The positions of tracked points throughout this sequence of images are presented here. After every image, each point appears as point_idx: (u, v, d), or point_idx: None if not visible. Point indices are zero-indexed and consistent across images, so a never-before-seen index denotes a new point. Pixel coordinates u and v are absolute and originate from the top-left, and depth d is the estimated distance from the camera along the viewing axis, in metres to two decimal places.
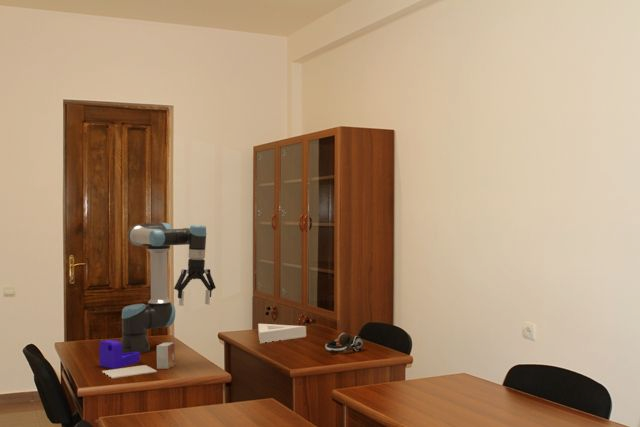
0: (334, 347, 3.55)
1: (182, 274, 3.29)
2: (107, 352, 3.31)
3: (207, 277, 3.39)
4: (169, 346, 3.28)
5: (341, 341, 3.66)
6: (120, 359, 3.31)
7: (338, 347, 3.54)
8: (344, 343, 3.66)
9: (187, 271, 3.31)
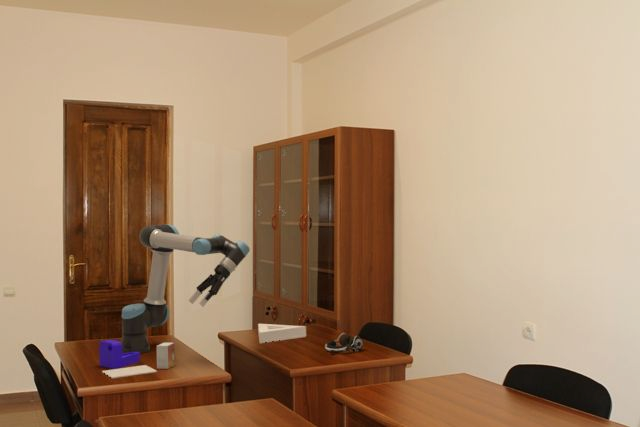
0: (334, 347, 3.55)
1: (221, 282, 3.38)
2: (107, 352, 3.31)
3: (206, 281, 3.48)
4: (169, 346, 3.28)
5: (341, 341, 3.66)
6: (120, 359, 3.31)
7: (338, 347, 3.54)
8: (344, 343, 3.65)
9: None
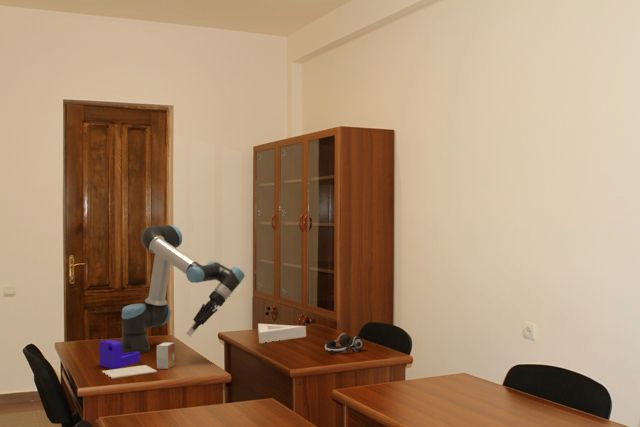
0: (333, 348, 3.54)
1: (212, 312, 3.37)
2: (107, 352, 3.31)
3: (201, 310, 3.44)
4: (169, 346, 3.28)
5: (341, 341, 3.65)
6: (120, 359, 3.31)
7: (337, 347, 3.54)
8: (344, 343, 3.65)
9: None
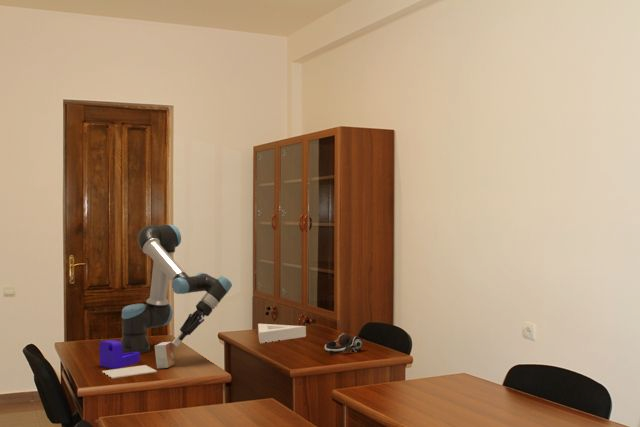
0: (333, 348, 3.54)
1: (199, 322, 3.33)
2: (107, 352, 3.31)
3: (188, 320, 3.40)
4: (167, 345, 3.28)
5: (341, 342, 3.65)
6: (120, 359, 3.31)
7: (337, 348, 3.53)
8: (344, 344, 3.64)
9: None
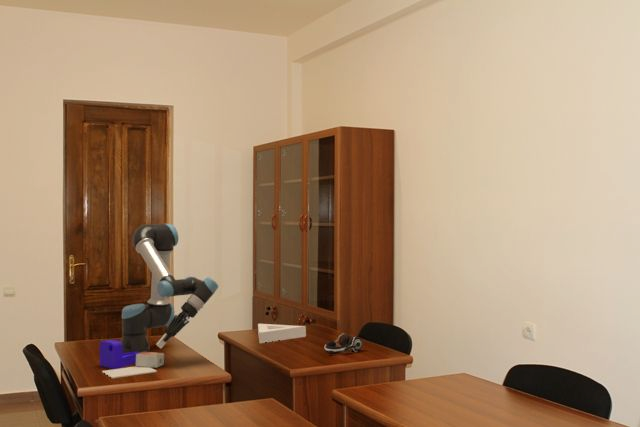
0: (332, 348, 3.54)
1: (183, 324, 3.30)
2: (107, 352, 3.31)
3: (173, 321, 3.37)
4: (138, 353, 3.31)
5: (340, 342, 3.64)
6: (120, 359, 3.31)
7: (337, 348, 3.53)
8: (343, 344, 3.64)
9: None
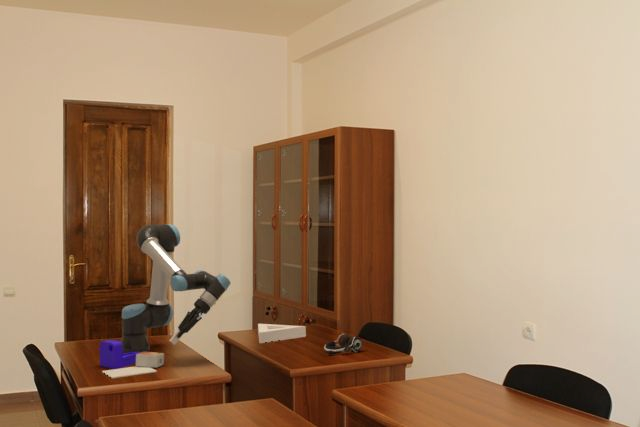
0: (332, 348, 3.53)
1: (196, 320, 3.33)
2: (108, 352, 3.31)
3: (186, 318, 3.40)
4: (138, 353, 3.31)
5: (340, 342, 3.64)
6: (121, 359, 3.31)
7: (336, 348, 3.53)
8: (343, 344, 3.64)
9: None
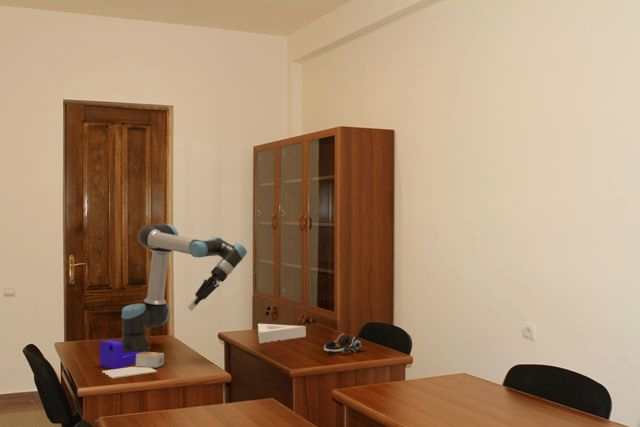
0: (332, 348, 3.53)
1: (214, 287, 3.38)
2: (108, 352, 3.31)
3: (203, 285, 3.45)
4: (138, 353, 3.31)
5: (340, 342, 3.64)
6: (121, 359, 3.31)
7: (336, 348, 3.52)
8: (343, 344, 3.63)
9: None
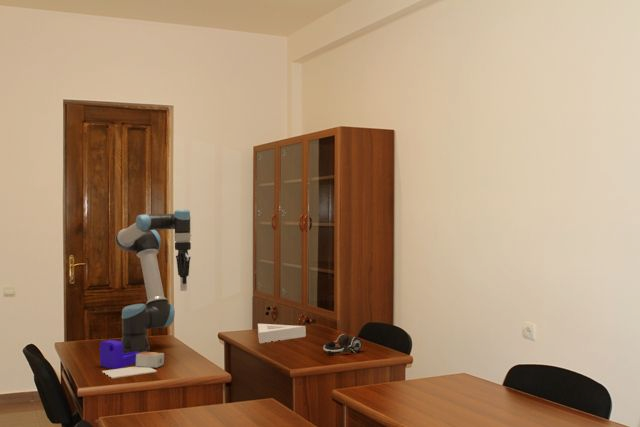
0: (331, 348, 3.53)
1: (187, 261, 3.46)
2: (108, 352, 3.31)
3: (178, 262, 3.54)
4: (138, 353, 3.31)
5: (340, 342, 3.63)
6: (121, 359, 3.31)
7: (335, 348, 3.52)
8: (343, 344, 3.63)
9: None
